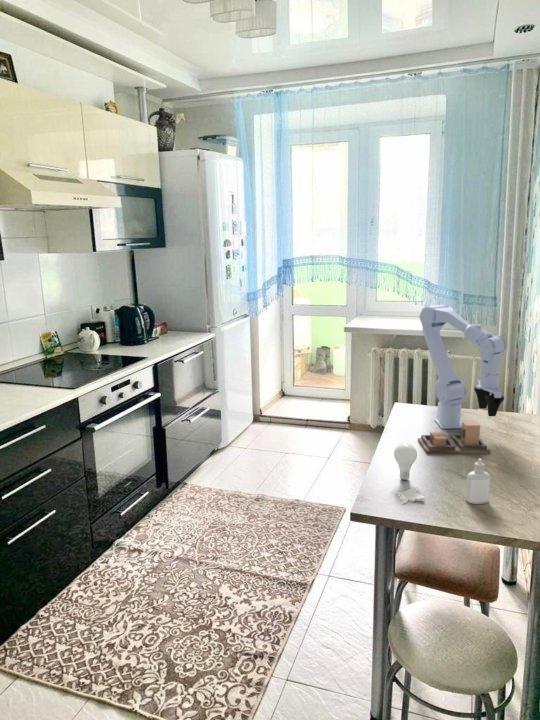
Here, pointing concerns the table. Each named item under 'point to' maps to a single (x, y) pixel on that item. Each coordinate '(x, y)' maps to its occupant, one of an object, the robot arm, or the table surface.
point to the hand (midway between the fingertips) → (487, 412)
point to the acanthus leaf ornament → (410, 495)
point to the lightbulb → (405, 458)
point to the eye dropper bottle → (478, 484)
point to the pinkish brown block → (470, 433)
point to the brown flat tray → (449, 444)
